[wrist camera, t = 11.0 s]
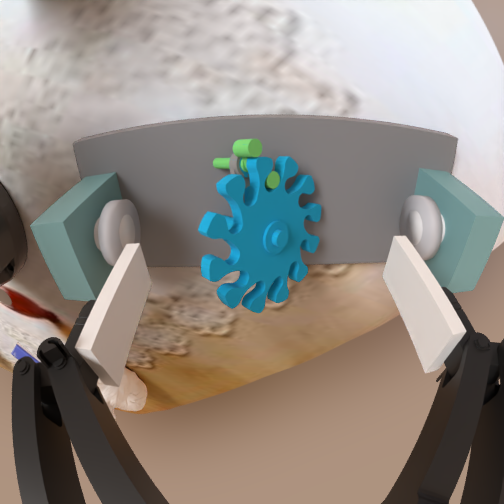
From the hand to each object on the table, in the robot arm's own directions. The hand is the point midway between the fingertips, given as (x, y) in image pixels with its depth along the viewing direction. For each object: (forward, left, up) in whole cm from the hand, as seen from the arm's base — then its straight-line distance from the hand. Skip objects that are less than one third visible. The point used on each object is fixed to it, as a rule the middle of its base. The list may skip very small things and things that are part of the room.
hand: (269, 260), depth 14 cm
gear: (0, 0, -8) cm, 8 cm away
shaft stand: (0, 0, -9) cm, 9 cm away
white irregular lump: (-24, -29, -9) cm, 38 cm away
